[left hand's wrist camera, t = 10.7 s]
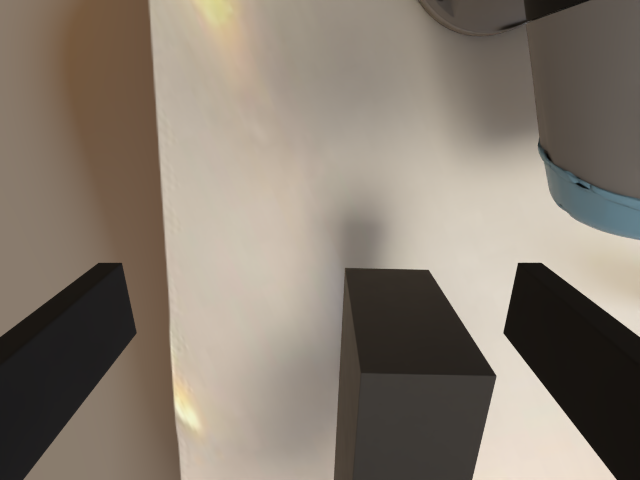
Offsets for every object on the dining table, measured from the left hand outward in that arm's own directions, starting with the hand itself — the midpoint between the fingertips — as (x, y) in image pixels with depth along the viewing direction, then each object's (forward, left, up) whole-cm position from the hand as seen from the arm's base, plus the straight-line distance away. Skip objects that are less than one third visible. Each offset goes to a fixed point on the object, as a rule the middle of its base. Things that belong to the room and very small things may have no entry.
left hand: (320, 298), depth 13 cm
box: (+18, +5, -15) cm, 24 cm away
